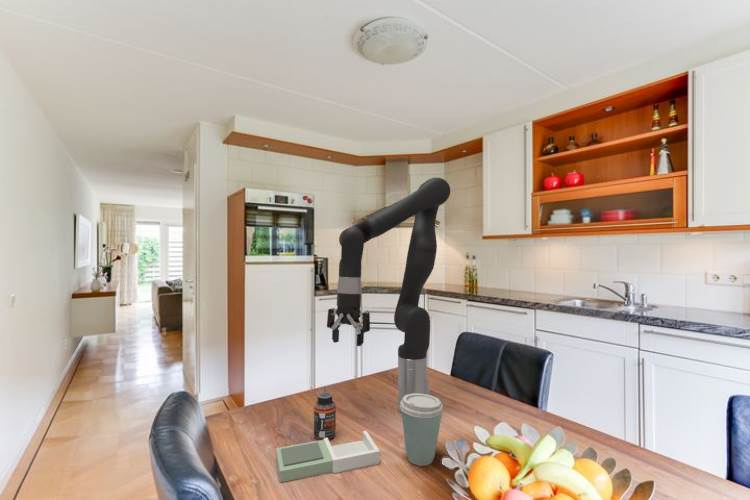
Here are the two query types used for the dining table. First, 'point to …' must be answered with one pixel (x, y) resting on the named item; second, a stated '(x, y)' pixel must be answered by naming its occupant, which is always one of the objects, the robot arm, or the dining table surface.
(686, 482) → the dining table surface
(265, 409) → the dining table surface
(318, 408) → the supplement bottle
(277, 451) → the green rectangular block
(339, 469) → the chute bracket
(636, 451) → the dining table surface
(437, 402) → the disposable coffee cup
